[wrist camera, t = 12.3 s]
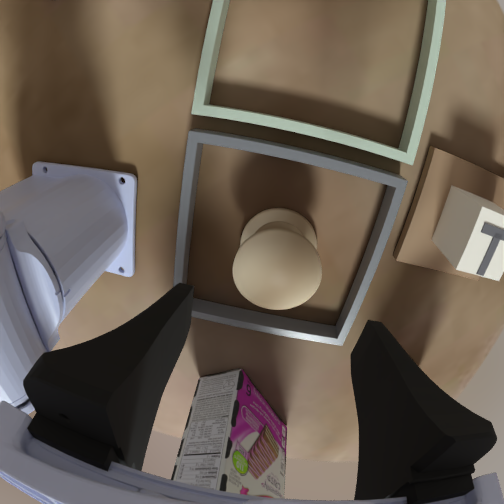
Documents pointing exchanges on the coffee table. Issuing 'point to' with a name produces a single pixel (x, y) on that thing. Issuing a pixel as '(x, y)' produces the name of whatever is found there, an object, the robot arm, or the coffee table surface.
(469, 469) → the robot arm
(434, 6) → the green tray
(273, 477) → the candy bar box
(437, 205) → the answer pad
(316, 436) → the coffee table surface
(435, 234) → the letter cube
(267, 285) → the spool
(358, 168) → the charcoal tray
